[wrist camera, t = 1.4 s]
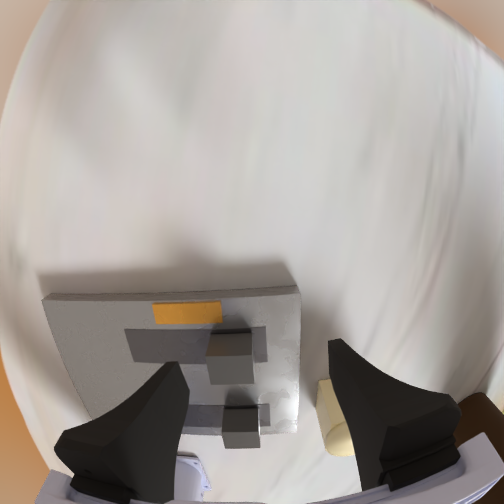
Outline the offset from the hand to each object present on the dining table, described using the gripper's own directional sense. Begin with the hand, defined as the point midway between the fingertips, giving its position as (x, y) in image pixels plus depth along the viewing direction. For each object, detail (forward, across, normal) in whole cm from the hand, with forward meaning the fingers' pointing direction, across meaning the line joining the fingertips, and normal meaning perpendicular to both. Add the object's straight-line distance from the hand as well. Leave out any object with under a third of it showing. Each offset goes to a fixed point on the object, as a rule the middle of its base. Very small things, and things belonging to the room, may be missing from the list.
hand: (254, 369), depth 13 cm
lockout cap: (+9, -6, +12) cm, 16 cm away
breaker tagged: (+7, +2, +3) cm, 8 cm away
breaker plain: (+7, +3, +11) cm, 13 cm away
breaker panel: (+8, +9, +6) cm, 13 cm away
